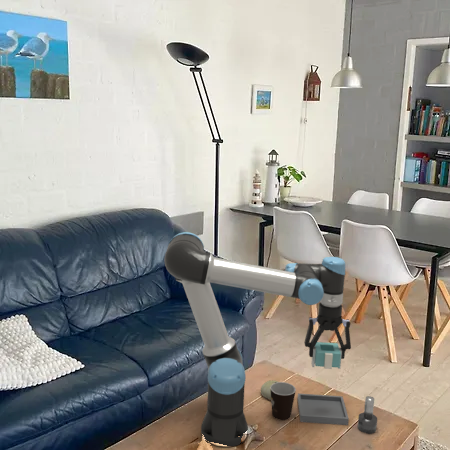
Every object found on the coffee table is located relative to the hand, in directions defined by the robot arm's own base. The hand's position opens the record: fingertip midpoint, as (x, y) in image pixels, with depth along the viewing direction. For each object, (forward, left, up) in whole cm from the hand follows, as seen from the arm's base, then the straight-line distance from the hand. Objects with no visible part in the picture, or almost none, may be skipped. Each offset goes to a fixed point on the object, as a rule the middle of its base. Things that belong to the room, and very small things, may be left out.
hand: (325, 365), depth 181 cm
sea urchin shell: (-17, +9, -18) cm, 26 cm away
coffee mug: (-14, -2, -18) cm, 23 cm away
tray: (0, 0, -18) cm, 18 cm away
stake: (+14, -8, -18) cm, 24 cm away
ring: (0, 0, +2) cm, 2 cm away
